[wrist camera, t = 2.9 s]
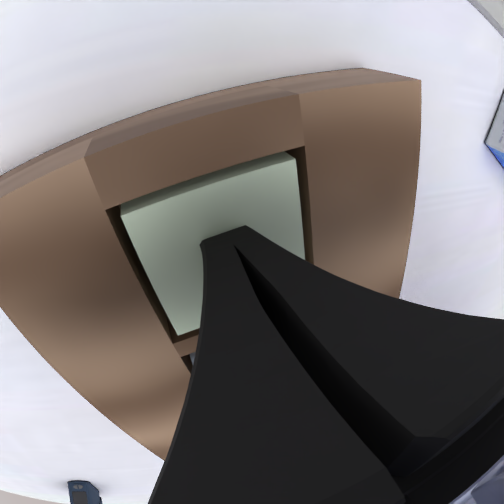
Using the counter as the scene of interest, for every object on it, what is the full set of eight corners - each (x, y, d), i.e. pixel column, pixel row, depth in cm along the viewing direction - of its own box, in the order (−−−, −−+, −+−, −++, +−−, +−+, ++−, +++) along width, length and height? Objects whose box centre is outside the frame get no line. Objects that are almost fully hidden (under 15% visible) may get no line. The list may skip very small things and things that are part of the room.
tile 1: (282, 254, 13) (309, 288, 11) (168, 296, 12) (178, 338, 10) (265, 139, 10) (298, 160, 8) (121, 185, 9) (120, 219, 7)
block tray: (351, 366, 23) (371, 396, 20) (174, 437, 20) (184, 473, 18) (363, 68, 10) (421, 80, 8) (-15, 184, 8) (-51, 228, 5)
